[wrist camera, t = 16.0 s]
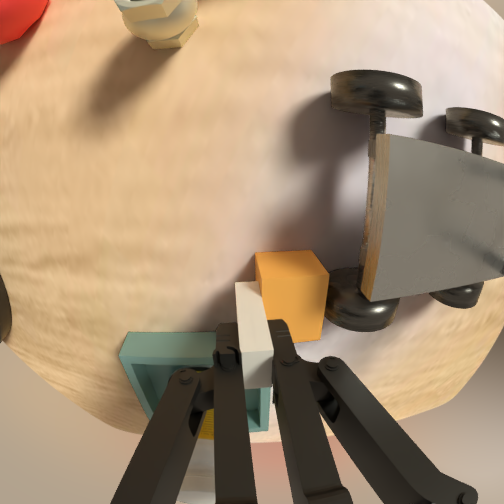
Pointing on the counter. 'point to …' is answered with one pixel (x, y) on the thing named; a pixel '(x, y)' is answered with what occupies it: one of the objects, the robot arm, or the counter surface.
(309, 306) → the block
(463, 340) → the counter surface
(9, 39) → the apple
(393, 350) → the counter surface
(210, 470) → the pill bottle
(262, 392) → the tray
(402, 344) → the counter surface
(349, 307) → the trolley
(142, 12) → the valve
